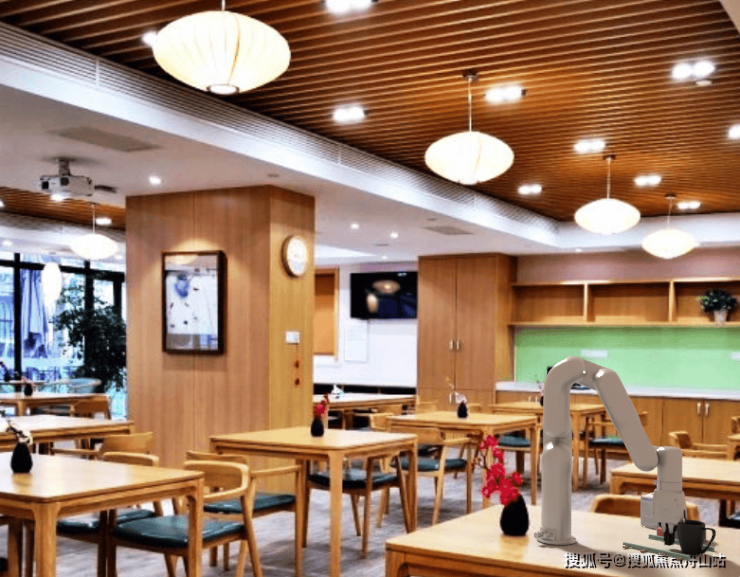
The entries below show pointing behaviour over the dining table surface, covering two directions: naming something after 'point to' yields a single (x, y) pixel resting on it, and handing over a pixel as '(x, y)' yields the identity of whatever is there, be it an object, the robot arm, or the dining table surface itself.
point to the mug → (693, 537)
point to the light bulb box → (647, 511)
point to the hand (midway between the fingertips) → (669, 544)
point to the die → (660, 532)
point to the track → (662, 552)
